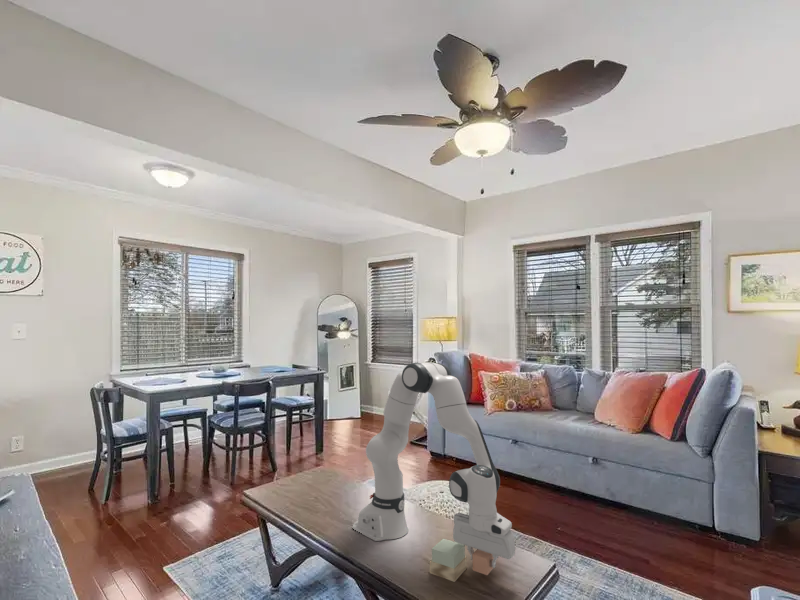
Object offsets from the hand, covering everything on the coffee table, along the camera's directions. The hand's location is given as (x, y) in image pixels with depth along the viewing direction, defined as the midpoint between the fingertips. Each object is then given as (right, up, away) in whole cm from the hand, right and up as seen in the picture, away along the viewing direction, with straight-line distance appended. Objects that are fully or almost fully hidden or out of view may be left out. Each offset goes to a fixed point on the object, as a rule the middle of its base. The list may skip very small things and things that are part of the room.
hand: (483, 563), depth 140 cm
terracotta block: (0, -2, 0) cm, 2 cm away
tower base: (-11, -5, +4) cm, 12 cm away
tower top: (-11, -1, +4) cm, 11 cm away
